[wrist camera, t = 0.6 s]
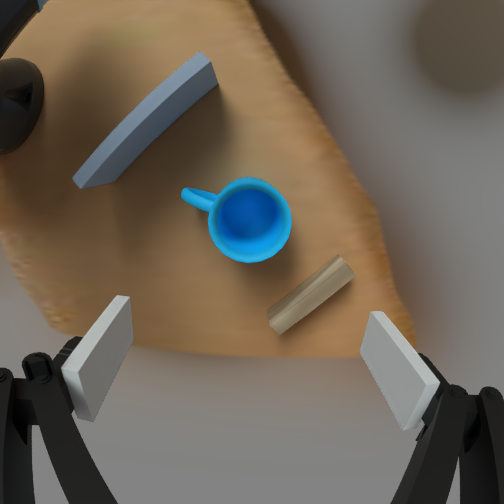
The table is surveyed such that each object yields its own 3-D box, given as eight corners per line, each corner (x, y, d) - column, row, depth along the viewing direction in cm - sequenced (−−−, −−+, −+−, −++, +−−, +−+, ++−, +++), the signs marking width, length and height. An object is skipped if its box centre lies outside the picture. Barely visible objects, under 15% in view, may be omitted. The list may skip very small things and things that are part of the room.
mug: (291, 190, 38) (304, 198, 30) (268, 251, 40) (273, 273, 32) (198, 157, 36) (186, 155, 29) (177, 219, 38) (161, 234, 31)
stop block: (267, 310, 42) (269, 324, 38) (337, 254, 40) (347, 263, 36) (276, 320, 42) (279, 335, 39) (346, 265, 40) (356, 275, 37)
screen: (97, 163, 36) (61, 165, 27) (199, 64, 33) (187, 38, 24) (113, 182, 37) (80, 189, 28) (218, 83, 34) (210, 61, 25)
